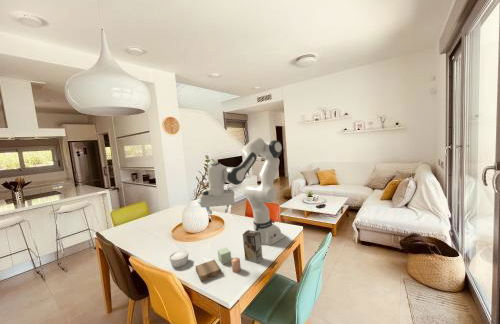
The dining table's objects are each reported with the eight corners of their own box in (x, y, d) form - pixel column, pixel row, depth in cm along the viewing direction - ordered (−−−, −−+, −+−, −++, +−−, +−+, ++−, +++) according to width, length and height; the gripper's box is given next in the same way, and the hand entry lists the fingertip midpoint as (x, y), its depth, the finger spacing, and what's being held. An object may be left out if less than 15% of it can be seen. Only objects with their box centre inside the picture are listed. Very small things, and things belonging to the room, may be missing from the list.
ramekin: (173, 259, 133) (172, 251, 132) (191, 256, 134) (190, 249, 133) (167, 269, 122) (166, 261, 121) (187, 267, 123) (186, 258, 122)
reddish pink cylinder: (238, 266, 119) (237, 256, 118) (242, 270, 114) (241, 260, 114) (231, 269, 117) (230, 259, 116) (234, 273, 112) (233, 263, 112)
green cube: (227, 256, 130) (226, 247, 130) (231, 261, 125) (230, 251, 124) (218, 259, 127) (217, 250, 127) (221, 264, 122) (220, 254, 122)
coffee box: (263, 258, 125) (260, 232, 123) (257, 263, 120) (255, 236, 118) (250, 254, 130) (248, 229, 128) (244, 259, 125) (242, 234, 123)
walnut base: (214, 264, 123) (214, 259, 122) (221, 274, 113) (220, 268, 113) (196, 271, 118) (195, 266, 118) (201, 281, 108) (200, 276, 108)
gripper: (234, 187, 128) (235, 209, 130) (200, 190, 128) (202, 212, 129) (233, 190, 122) (235, 213, 123) (198, 193, 121) (200, 216, 122)
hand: (218, 213), depth 126 cm, fingers open, 8 cm apart
